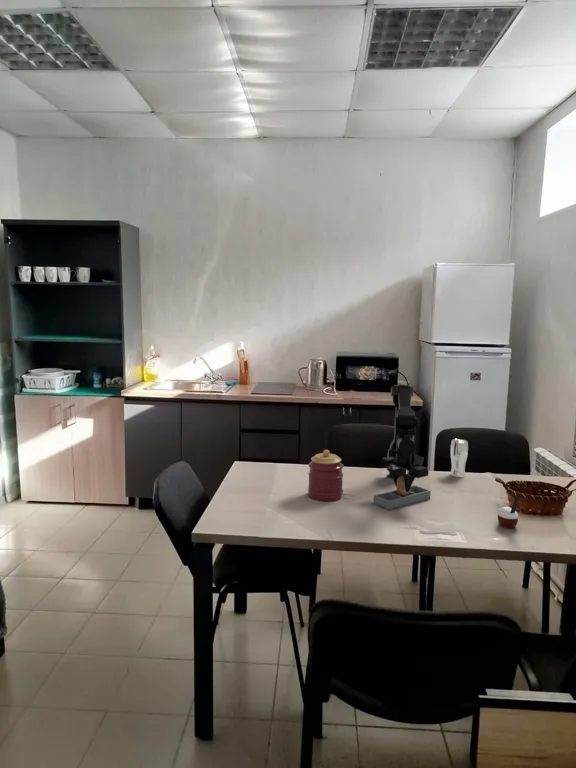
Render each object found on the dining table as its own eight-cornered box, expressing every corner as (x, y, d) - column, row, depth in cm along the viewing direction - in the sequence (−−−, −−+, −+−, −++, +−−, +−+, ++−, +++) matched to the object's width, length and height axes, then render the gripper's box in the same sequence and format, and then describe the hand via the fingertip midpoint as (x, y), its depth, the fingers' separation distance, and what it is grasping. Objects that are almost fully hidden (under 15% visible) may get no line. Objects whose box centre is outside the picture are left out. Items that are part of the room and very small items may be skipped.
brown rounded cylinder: (393, 494, 199) (394, 475, 198) (402, 492, 202) (403, 473, 201) (402, 497, 196) (403, 478, 195) (411, 495, 198) (412, 476, 197)
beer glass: (445, 473, 234) (447, 439, 232) (458, 472, 236) (460, 438, 234) (457, 478, 227) (459, 443, 225) (469, 476, 230) (472, 442, 228)
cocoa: (495, 521, 182) (495, 486, 181) (515, 522, 181) (515, 487, 180) (500, 531, 173) (501, 494, 172) (521, 532, 172) (522, 495, 171)
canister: (302, 497, 201) (302, 451, 199) (316, 488, 213) (317, 444, 210) (334, 504, 195) (335, 456, 193) (347, 493, 207) (349, 448, 204)
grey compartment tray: (373, 503, 196) (373, 495, 196) (414, 493, 208) (415, 485, 208) (388, 510, 190) (388, 501, 189) (430, 499, 202) (430, 490, 202)
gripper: (439, 450, 193) (437, 492, 195) (401, 439, 208) (399, 479, 211) (418, 455, 187) (416, 498, 189) (380, 443, 202) (378, 484, 204)
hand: (402, 489), depth 198 cm, fingers closed on brown rounded cylinder, 4 cm apart
